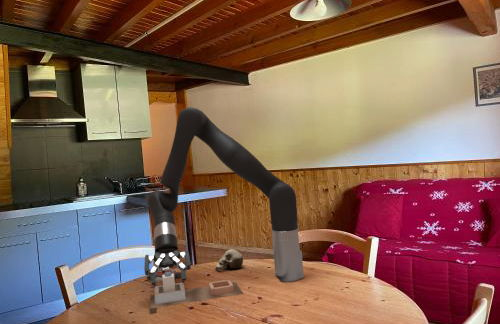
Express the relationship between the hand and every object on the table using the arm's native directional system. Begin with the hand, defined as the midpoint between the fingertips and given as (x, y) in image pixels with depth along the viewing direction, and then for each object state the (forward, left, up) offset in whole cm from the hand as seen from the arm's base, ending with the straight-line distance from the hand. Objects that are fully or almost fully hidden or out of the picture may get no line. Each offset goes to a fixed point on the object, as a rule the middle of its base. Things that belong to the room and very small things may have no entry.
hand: (169, 283), depth 116 cm
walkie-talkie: (0, -24, -7) cm, 25 cm away
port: (0, -1, -5) cm, 5 cm away
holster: (-16, -1, -5) cm, 17 cm away
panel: (-8, -1, -6) cm, 10 cm away
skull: (-24, -30, -7) cm, 39 cm away
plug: (0, -1, -5) cm, 5 cm away
